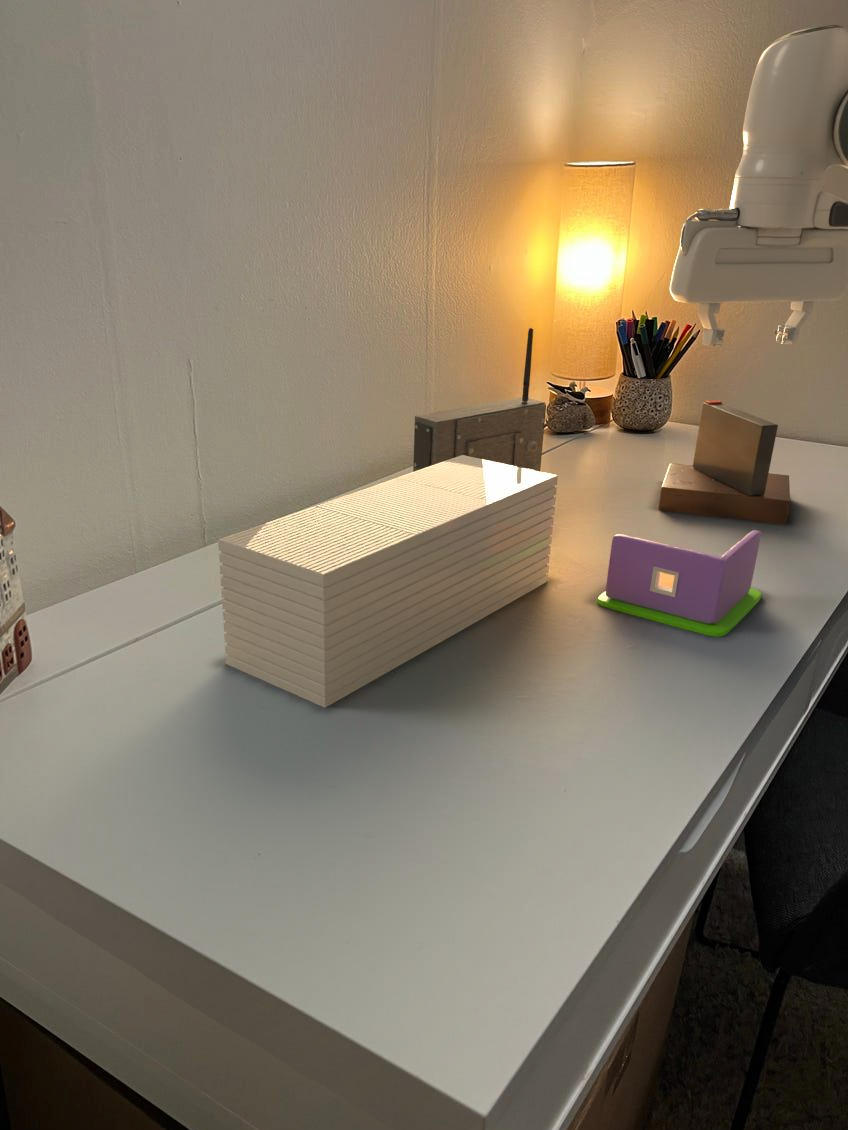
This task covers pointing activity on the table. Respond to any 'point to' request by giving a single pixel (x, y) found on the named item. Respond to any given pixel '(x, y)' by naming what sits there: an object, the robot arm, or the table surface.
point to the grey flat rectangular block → (734, 447)
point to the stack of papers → (382, 573)
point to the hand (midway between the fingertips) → (749, 344)
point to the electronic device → (485, 430)
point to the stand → (723, 496)
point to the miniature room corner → (682, 583)
